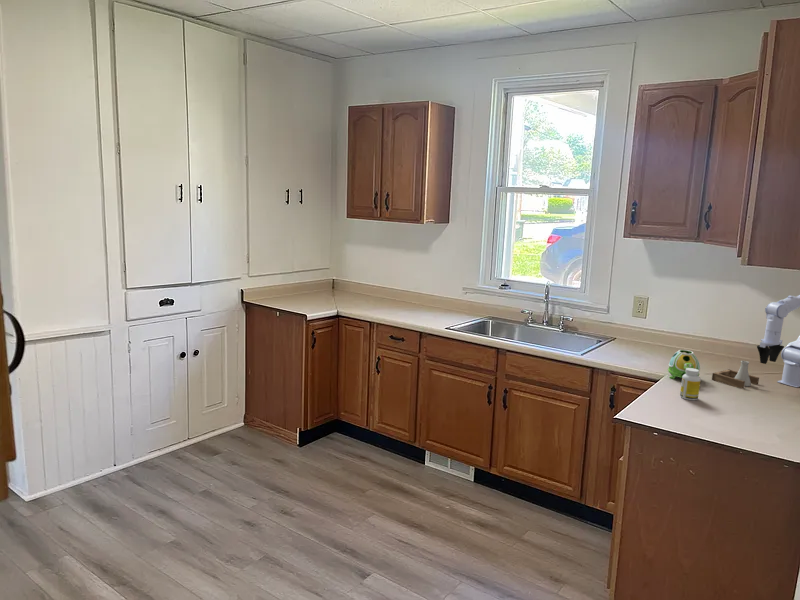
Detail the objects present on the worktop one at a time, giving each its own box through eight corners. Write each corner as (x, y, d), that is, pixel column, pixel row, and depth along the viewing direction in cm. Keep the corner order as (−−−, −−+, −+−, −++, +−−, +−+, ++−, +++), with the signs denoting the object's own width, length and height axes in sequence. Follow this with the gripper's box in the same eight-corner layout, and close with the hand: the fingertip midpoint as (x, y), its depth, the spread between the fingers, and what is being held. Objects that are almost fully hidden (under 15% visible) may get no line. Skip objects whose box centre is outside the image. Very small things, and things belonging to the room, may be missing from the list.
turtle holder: (670, 383, 249) (674, 356, 247) (665, 371, 266) (668, 346, 264) (703, 387, 246) (706, 360, 244) (695, 375, 263) (699, 349, 261)
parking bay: (728, 375, 264) (729, 369, 264) (758, 384, 253) (759, 377, 253) (711, 379, 257) (712, 373, 257) (742, 388, 246) (743, 381, 246)
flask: (733, 380, 258) (737, 358, 256) (752, 384, 253) (756, 361, 252) (730, 384, 252) (733, 361, 250) (749, 388, 248) (753, 365, 246)
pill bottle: (701, 400, 229) (705, 372, 227) (686, 401, 228) (690, 372, 226) (690, 395, 236) (694, 367, 234) (676, 395, 235) (679, 367, 232)
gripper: (771, 327, 254) (766, 358, 257) (754, 330, 247) (749, 361, 249) (789, 331, 248) (784, 362, 251) (772, 334, 241) (766, 366, 243)
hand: (767, 362), depth 250 cm, fingers open, 7 cm apart
